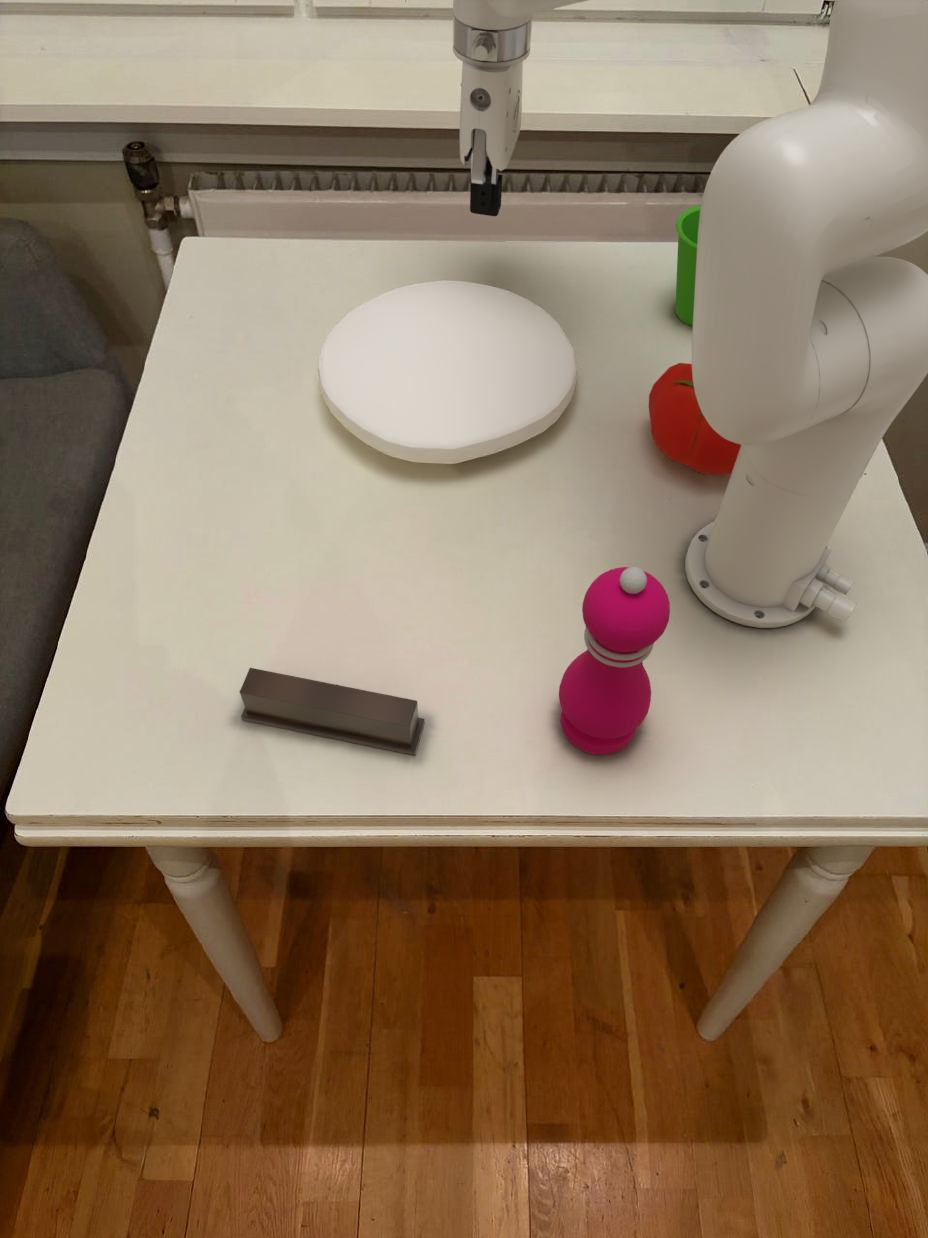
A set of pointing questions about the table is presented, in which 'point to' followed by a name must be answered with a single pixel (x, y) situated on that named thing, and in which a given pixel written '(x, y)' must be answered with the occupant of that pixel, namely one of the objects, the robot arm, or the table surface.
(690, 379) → the tomato
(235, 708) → the table surface
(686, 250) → the cup
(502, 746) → the table surface
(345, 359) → the plate
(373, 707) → the rail
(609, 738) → the pepper mill
